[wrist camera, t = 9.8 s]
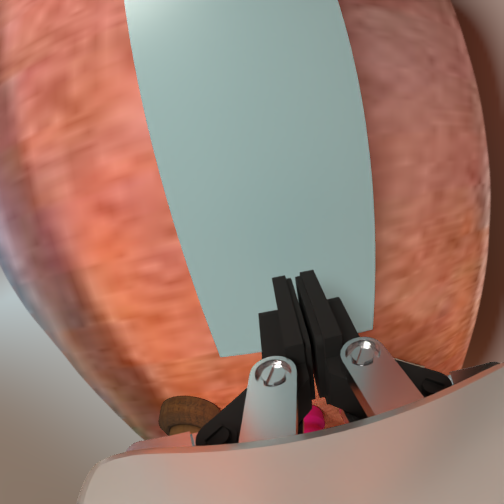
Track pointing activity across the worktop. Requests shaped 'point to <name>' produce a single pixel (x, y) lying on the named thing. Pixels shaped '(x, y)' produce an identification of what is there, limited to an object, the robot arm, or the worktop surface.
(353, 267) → the cover
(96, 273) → the worktop surface
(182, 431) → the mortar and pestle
